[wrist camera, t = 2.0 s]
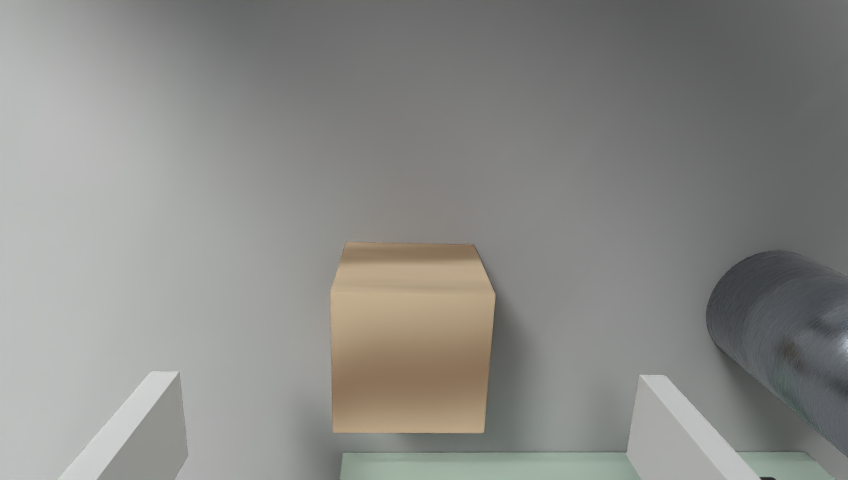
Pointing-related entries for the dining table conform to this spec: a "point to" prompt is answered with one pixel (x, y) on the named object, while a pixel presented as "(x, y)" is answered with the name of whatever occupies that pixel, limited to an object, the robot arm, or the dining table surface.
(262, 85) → the dining table surface
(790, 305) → the grey tin
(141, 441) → the robot arm
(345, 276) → the oak cube
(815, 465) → the tote
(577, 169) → the dining table surface
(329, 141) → the dining table surface
